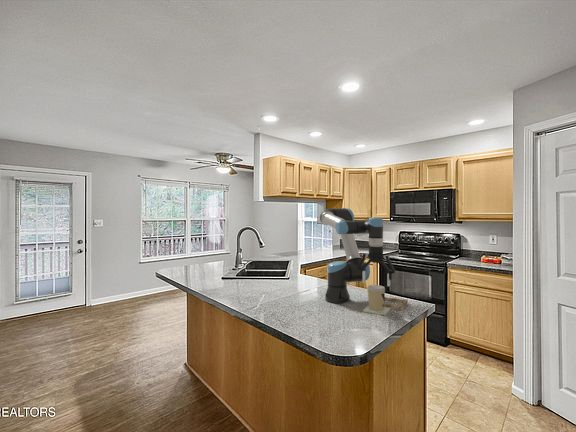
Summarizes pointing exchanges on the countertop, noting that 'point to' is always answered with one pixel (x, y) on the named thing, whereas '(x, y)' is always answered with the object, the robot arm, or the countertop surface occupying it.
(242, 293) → the countertop surface
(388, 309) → the sage tile
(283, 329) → the countertop surface
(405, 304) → the oak frame
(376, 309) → the coffee cup
